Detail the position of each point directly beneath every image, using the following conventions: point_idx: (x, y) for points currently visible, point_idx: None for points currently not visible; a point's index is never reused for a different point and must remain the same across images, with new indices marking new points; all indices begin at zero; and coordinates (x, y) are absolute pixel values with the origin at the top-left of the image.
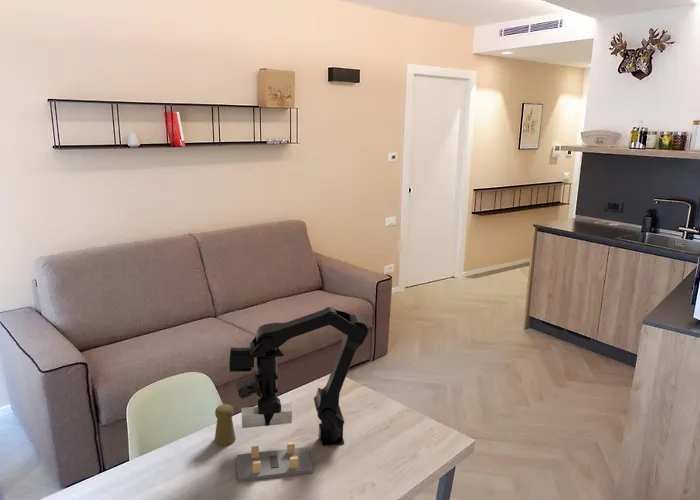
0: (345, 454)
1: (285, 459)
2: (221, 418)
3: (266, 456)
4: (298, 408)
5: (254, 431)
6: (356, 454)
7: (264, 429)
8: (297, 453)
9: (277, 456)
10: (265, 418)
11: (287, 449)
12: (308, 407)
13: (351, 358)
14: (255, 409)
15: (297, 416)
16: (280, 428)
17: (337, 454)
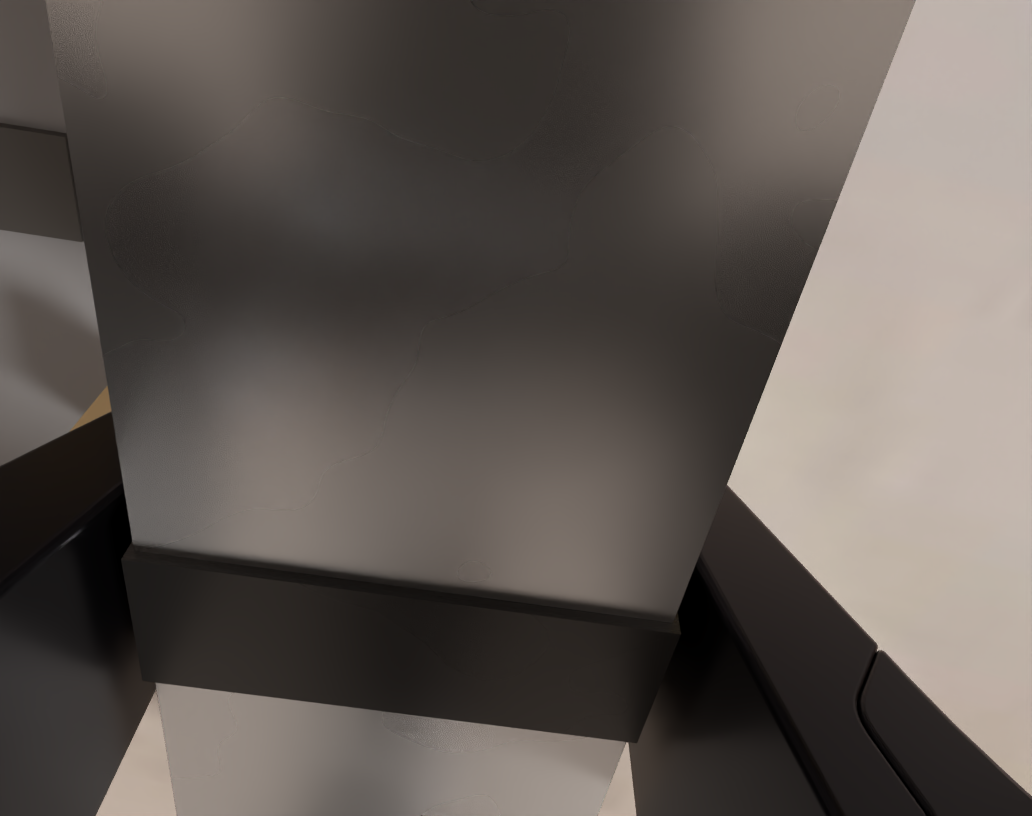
0: (140, 755)
1: (5, 320)
2: None
3: None
4: (1029, 672)
5: (897, 61)
6: (133, 803)
7: (857, 228)
8: None
9: (73, 241)
10: (63, 459)
11: (93, 409)
12: (975, 740)
13: None
14: (542, 306)
15: (889, 628)
16: (762, 423)
17: (145, 717)
